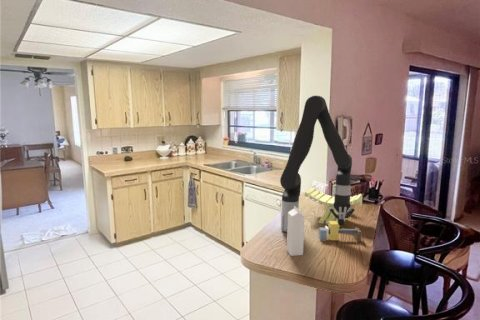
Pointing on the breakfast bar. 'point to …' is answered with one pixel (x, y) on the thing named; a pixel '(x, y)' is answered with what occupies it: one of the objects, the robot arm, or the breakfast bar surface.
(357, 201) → the slatted curved stool
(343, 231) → the grey slider rail
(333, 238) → the yellow sliding collar
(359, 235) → the tan flat end block
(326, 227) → the pale beige end plate
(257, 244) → the breakfast bar surface
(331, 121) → the robot arm
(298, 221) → the milk
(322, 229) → the block
